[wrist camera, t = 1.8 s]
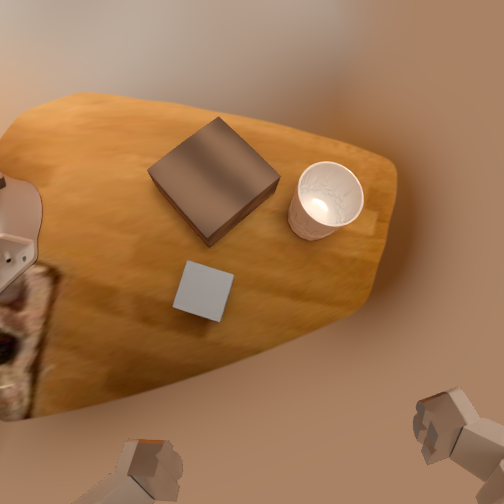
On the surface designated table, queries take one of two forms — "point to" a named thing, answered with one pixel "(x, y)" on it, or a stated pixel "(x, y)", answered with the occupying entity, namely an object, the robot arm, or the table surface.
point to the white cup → (324, 201)
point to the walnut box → (214, 180)
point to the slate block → (203, 291)
